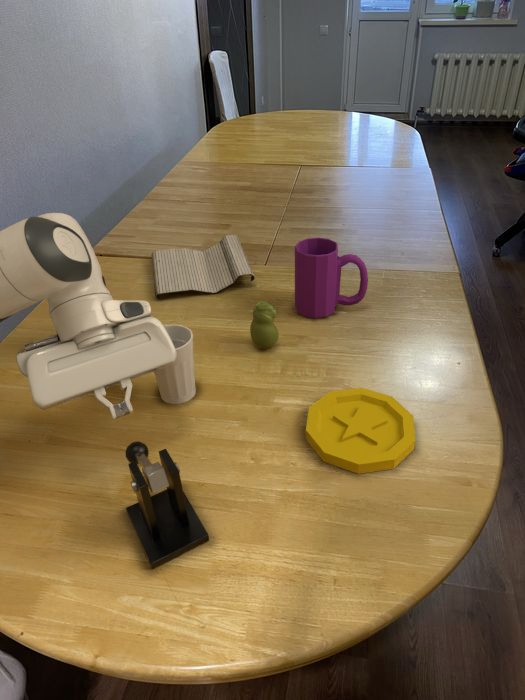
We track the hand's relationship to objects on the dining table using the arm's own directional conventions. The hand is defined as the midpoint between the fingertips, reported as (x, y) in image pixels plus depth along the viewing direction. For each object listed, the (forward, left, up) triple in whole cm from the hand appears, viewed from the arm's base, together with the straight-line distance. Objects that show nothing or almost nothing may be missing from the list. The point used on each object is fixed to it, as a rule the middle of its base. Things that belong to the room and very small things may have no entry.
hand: (123, 415), depth 72 cm
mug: (+56, -5, -11) cm, 57 cm away
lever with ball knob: (-3, -7, -5) cm, 9 cm away
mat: (+56, +31, -11) cm, 65 cm away
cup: (+17, +6, -11) cm, 22 cm away
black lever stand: (-5, -11, -11) cm, 16 cm away
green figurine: (+37, 0, -11) cm, 39 cm away
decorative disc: (+24, -26, -11) cm, 37 cm away
